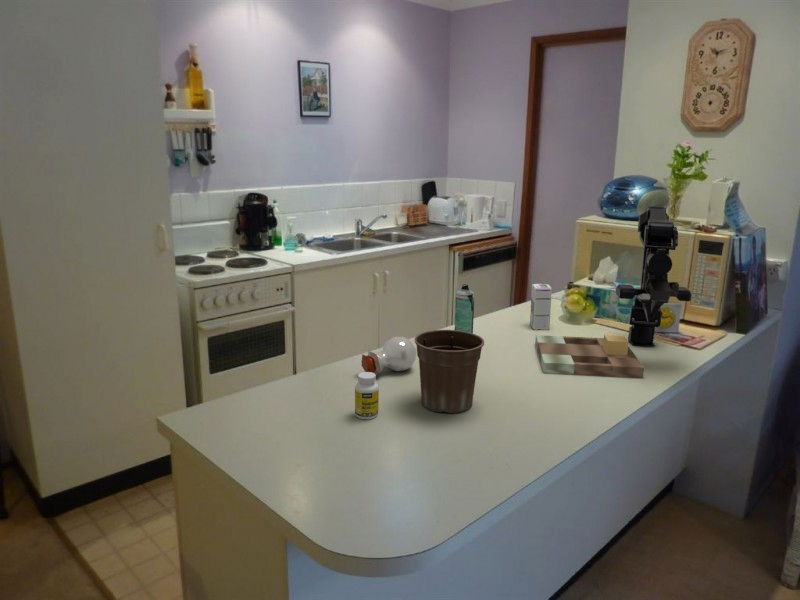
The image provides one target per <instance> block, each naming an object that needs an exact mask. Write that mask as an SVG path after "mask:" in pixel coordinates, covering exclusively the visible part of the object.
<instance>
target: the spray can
mask: <svg viewBox="0 0 800 600" xmlns="http://www.w3.org/2000/svg"><path fill="white" fill-rule="evenodd" d="M454 301H455V302H454V303H455V305H454V329H453V330H458V331H464V332H469V333H473V334H474V314H475V313H474V312H475V292H474V291H472V290H471V288H470V287H469V284H466V283H463V284H462V285H461V288H460V289H459V290H457V291H456V292H455V300H454Z"/></svg>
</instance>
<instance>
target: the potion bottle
mask: <svg viewBox="0 0 800 600" xmlns="http://www.w3.org/2000/svg"><path fill="white" fill-rule="evenodd" d="M416 357H417V347H415V345H414V344H413V342H412V340H411V339H408V338H407V337H405V336H392V337H391V338H390V339H388V340H386V341H385V343H384V345H383V347H382V350H381V351H378V352H373V351H370V350H368V352H367V355H365V354H364V353H362V354H361V367H362V369H363V372H372V373H374V374H375V375H376V376H378V374H379V373H381V372H382V371H383V368H386V367H387V368H389V369H390V370H392V371H393V372H405V371H406V370H408V369H410V368H412V367H413V365H414V364H415V361H416V359H417V358H416Z"/></svg>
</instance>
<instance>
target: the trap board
mask: <svg viewBox="0 0 800 600" xmlns="http://www.w3.org/2000/svg"><path fill="white" fill-rule="evenodd" d="M534 343H535V344H534V346H535V345H536V346H535V348H536V353H537V356H538V359H539V362H540V366H541V369H542V373H543V374H554V375H555V374H557V375H573V376H574V375H575V376H589V377H591V376H592V377H593V376H596V377H612V378H629V379H631V378H632V379H643V378H644V372H645V367H644V365H643V364H642V363H641V361H640V360H639V358H638V357H637V356H636V355H635V353H634V352H633V350H632V348H631V347H630V346H629V345H628V352H627V355H610V354H606V352H605V350H604V349H603V343H604V337H585V336H584V337H583V336H564V335H563V336H561V335H542V334H541V335H539V334H536V335H535V341H534Z"/></svg>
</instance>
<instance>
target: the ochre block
mask: <svg viewBox="0 0 800 600" xmlns="http://www.w3.org/2000/svg"><path fill="white" fill-rule="evenodd" d="M603 338H604V343H603V349H604V350H605V352H606V354H610V355H627V352H628V346H629V342H630V341H629V339H628V338H627V337H626V336H625V335H620V334H616V335H615V334H604V335H603Z"/></svg>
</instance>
